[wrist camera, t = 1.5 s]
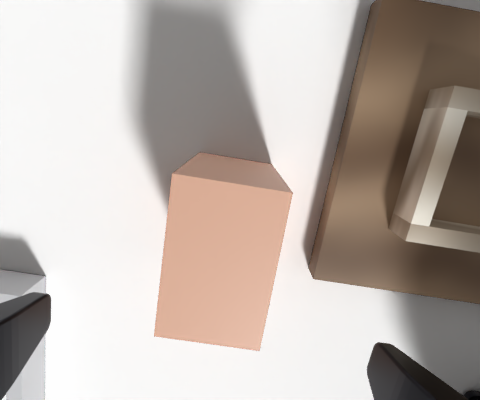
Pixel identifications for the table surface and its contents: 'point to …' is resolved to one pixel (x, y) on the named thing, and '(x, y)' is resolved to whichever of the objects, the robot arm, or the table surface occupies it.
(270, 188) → the key block
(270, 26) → the table surface
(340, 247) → the socket board
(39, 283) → the bracket rim
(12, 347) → the robot arm
